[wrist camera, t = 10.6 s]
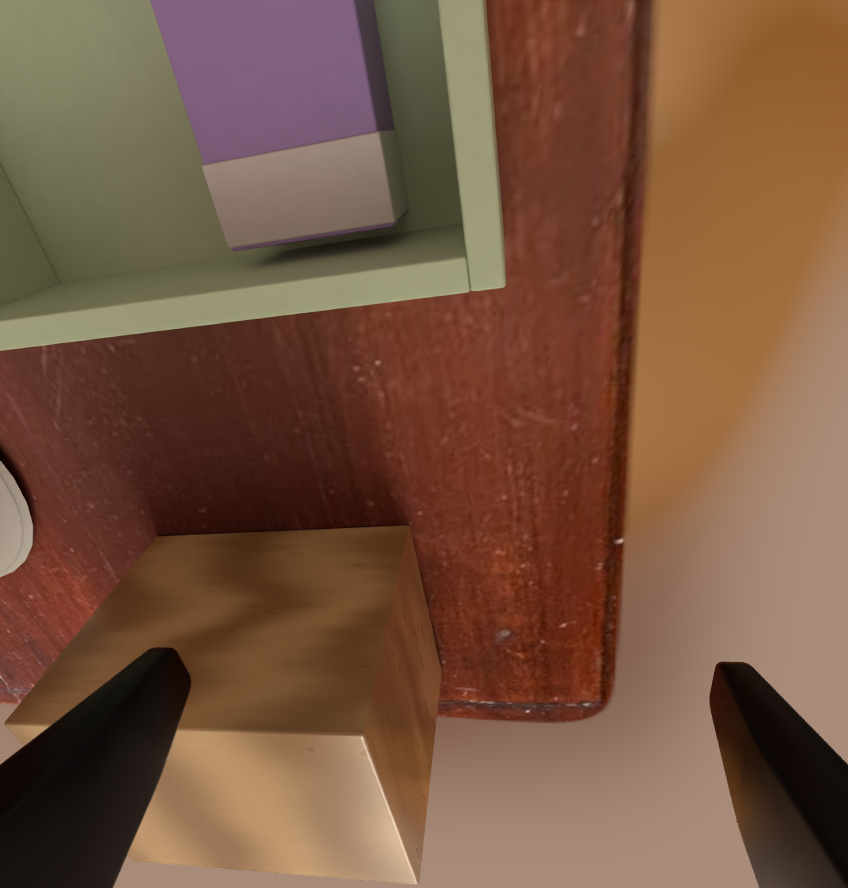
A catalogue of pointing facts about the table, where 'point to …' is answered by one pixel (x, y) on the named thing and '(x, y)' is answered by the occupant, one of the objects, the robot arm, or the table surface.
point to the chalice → (13, 524)
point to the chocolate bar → (288, 115)
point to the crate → (275, 698)
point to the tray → (186, 191)
